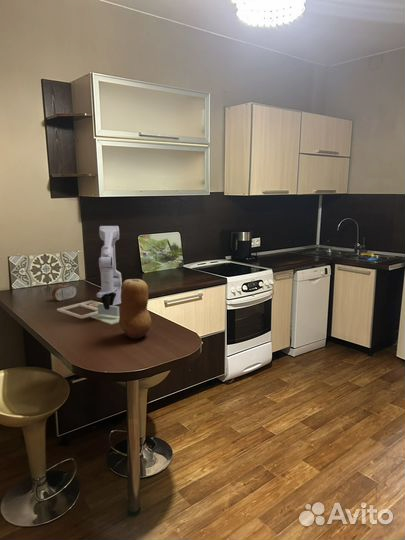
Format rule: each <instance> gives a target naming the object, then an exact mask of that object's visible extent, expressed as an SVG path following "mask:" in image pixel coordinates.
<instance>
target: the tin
mask: <svg viewBox="0 0 405 540" xmlns="http://www.w3.org/2000/svg"><path fill="white" fill-rule="evenodd" d="M77 295H78V288H77V286H76V285H74V284H73V283H72V284H71V283H69V284H64V285H59V286H56V287H55V288H54V289H53V290H52V292H51V297H52V298H53V300H55V301H58V302H63V301H67V300H72V299H74V298H76V297H77Z"/></svg>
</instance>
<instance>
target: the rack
mask: <svg viewBox="0 0 405 540" xmlns="http://www.w3.org/2000/svg"><path fill="white" fill-rule="evenodd" d="M92 303H97V304H103V302H99V301H95V300H92V299H90V300H86V301H82V302H79V303H74V304H71V305H67V306H62V307H59V308H56V311H57V312H59V313H62V314H66V315H69V316H72V317H75V318H77V319H85V318H89V317H91V316H95V315H98V308H95V307H92V306H89V304H92ZM78 307H82V308H85V309H88V310H92V312H89V313H85V314H82V315H81V314H78V313H75V312H72V311H69V310H70V309H73V308H78ZM93 311H94V312H93Z"/></svg>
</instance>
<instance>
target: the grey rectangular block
mask: <svg viewBox="0 0 405 540" xmlns="http://www.w3.org/2000/svg"><path fill="white" fill-rule="evenodd" d="M98 314H105V315H111V316H120V306H117V305H113V306H112V305H110V306H109V310H107V309H105V308H104V305H103V304H99V305H98ZM98 314H97V315H98Z"/></svg>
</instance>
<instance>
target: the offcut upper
mask: <svg viewBox="0 0 405 540" xmlns="http://www.w3.org/2000/svg"><path fill="white" fill-rule="evenodd" d="M98 305H99V304H97V303H89V304H88V306H92V307H95V308H98Z"/></svg>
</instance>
